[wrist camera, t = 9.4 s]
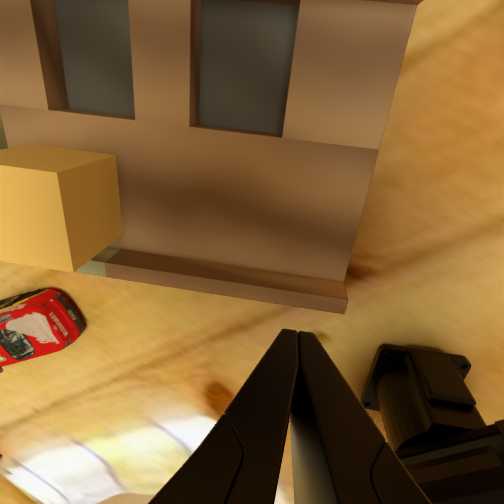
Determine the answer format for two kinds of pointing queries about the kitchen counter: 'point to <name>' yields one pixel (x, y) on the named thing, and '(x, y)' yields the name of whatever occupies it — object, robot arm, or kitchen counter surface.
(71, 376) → the kitchen counter surface
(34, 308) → the race car
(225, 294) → the tray
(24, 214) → the mustard block
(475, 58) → the kitchen counter surface
